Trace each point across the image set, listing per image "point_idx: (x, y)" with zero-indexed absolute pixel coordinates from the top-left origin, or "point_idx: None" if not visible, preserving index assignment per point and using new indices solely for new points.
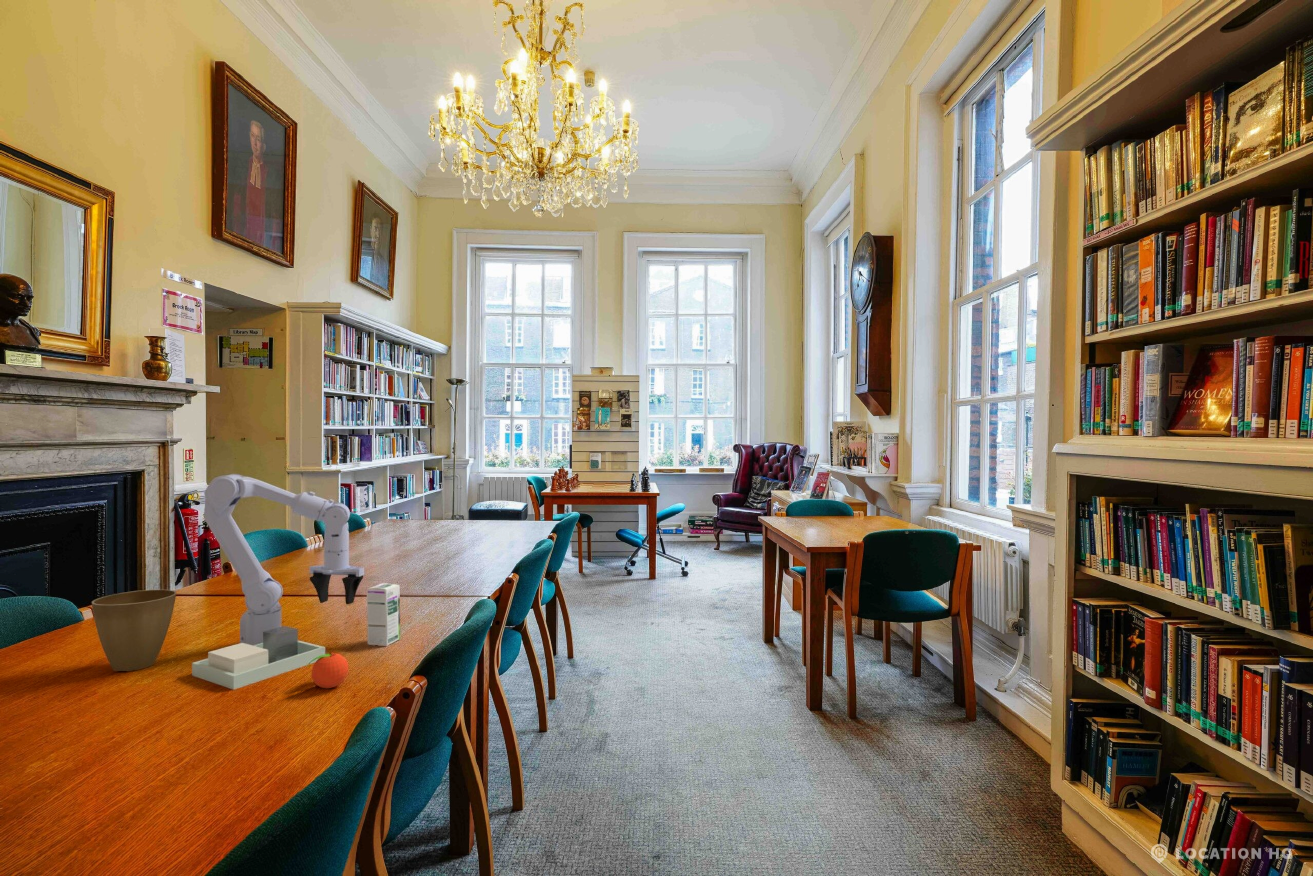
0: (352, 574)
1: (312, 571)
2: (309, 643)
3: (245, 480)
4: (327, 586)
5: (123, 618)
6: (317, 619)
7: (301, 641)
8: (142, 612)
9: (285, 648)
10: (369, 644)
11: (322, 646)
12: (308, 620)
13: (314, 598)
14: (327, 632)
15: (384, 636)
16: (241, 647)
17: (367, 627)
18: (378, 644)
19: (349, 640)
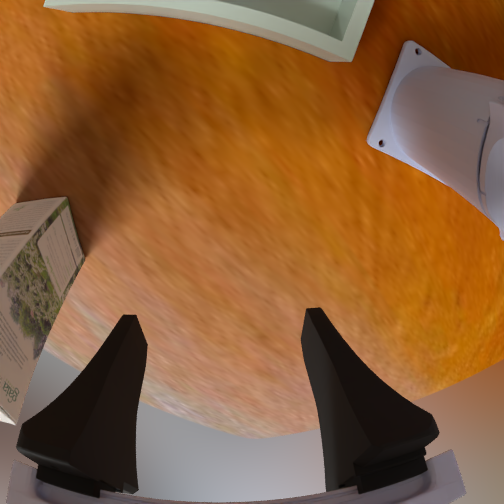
0: (65, 489)
1: (437, 477)
2: (139, 1)
3: None
4: (321, 413)
5: None
6: (392, 333)
7: (204, 11)
8: None
9: None
10: (61, 197)
11: (57, 4)
12: (410, 323)
13: (435, 390)
14: (306, 267)
15: (3, 217)
16: None
17: (37, 226)
18: (33, 201)
19: (163, 217)
